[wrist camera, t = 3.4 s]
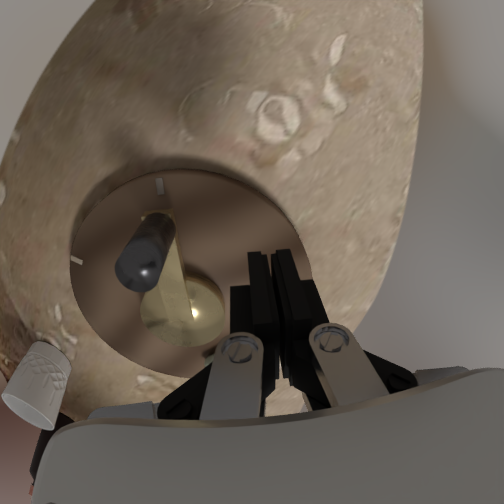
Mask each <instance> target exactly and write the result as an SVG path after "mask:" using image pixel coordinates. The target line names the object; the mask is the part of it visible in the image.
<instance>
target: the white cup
mask: <svg viewBox="0 0 504 504" xmlns="http://www.w3.org/2000/svg"><path fill="white" fill-rule="evenodd" d="M71 369H72V368H71V364H70V361H69V360H68V359H67V358H66V356H65V355H64V354H63V353H62V352H61V351H59V350H58V349H57V348H56V347H54V346H52V345H50V344H48V343H46V342H41V341H37V342H35V343H33V344H32V346H31V347H30V349H29V350H28V352H27V354H26V355H25V356H24V358H23V359H22V360H21V362H20V364H19V365H18V367H17V368H16V370H15V372H14V373H13V375H12V377H11V379H10V380H9V382H8V384H7V386H6V388H5V389H4V391H3V393H2V399H3V400H4V402H5V403H6V405H7V406H8V407H9V408H10V409H11V410H12V411H14V412H15V413H16V414H17V415H18V416H20V417H21V418H23V419H24V420H26V421H27V422H29V423H31V424H33V425H35V426H37V427H39V428H42V429H45V430H53V429H54V427H55V423H56V420H57V416H58V413H59V410H60V406H61V403H62V399H63V396H64V393H65V389H66V386H67V380H68V377H69V375H70V372H71Z"/></svg>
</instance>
